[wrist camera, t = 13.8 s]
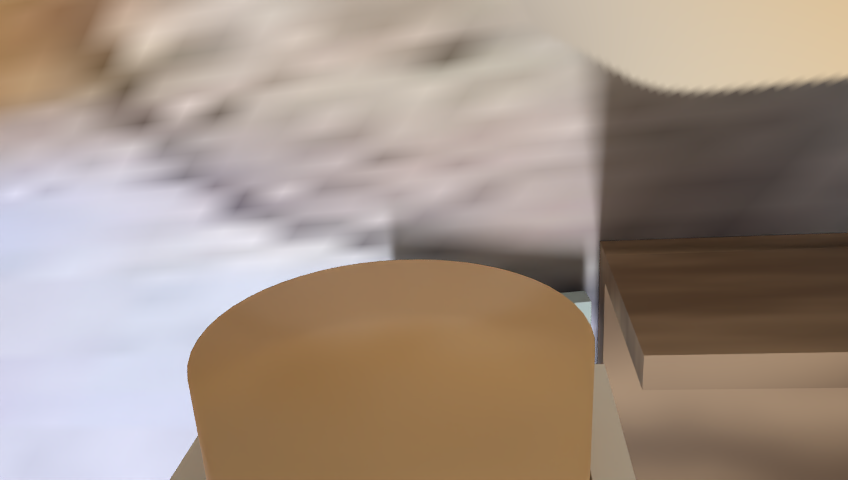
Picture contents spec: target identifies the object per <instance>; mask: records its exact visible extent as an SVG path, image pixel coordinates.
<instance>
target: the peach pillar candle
mask: <svg viewBox="0 0 848 480" xmlns="http://www.w3.org/2000/svg"><path fill="white" fill-rule="evenodd" d="M594 364H595V337H594V334H593V331H592V328H591V325H590V323H589V322H588V320H587V318H586V317H585V315H584V314H583V312H582V311H581V310H580V309H579V308H578V307H577V306H576V305H575V304H574V303H573V302H572V301H570V300H569V299H568V298H567V297H565V296H564V295H563V294H561V293H559V292H558V291H556V290H554V289H553V288H551V287H549V286H547V285H545V284H543V283H541V282H539V281H537V280H534V279H532V278H529V277H526V276H523V275H521V274H518V273H514V272H511V271H507V270H504V269H500V268H495V267H490V266H485V265H480V264H473V263H466V262H458V261H446V260H424V259H416V260H389V261H377V262H368V263H359V264H353V265H347V266H341V267H336V268H331V269H327V270H322V271H318V272H314V273H310V274H307V275H303V276H300V277H297V278H294V279H291V280H288V281H285V282H282V283H279V284H277V285H274V286H272V287H269V288H267V289H264V290H262V291H260V292H258V293H256V294H254V295H252V296H250V297H248V298H246V299H245V300H243V301H241V302H240V303H238V304H236V305H235V306H233V307H231V308H230V309H229V310H227V311H226V312H225V313H223V314H222V315H221V316H219V317H218V318H217V319H216V320H215V321H214V322H213V323H212V324H211V325H209V326H208V327H207V328H206V330H205V331H204V332H203V333H202V335H201V336H200V337H199V338H198V340H197V342H196V344H195V345H194V347H193V349H192V351H191V354H190V357H189V361H188V365H187V373H188V384H189V389H190V394H191V400H192V405H193V410H194V416H195V421H196V426H197V432H198V437H199V443H200V448H201V453H202V459H203V464H204V469H205V475H206V480H590V464H591V439H592V414H593V389H594Z"/></svg>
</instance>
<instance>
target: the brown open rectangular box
mask: <svg viewBox="0 0 848 480" xmlns="http://www.w3.org/2000/svg"><path fill="white" fill-rule="evenodd" d="M598 364H604V365H605V368H606V372H607V376H608V379H609V383H610V387H611V390H612V394H613V398H614V401H615V405H616V409H617V412H618V416H619V420H620V423H621V427H622V431H623V434H624V438H625V442H626V445H627V449H628V453H629V456H630V460H631V464H632V467H633V471H634V475H635V478H636V480H848V233H826V234H796V235H767V236H738V237H709V238H679V239H650V240H621V241H600V272H599V320H598Z"/></svg>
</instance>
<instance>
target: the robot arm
mask: <svg viewBox="0 0 848 480" xmlns="http://www.w3.org/2000/svg"><path fill="white" fill-rule="evenodd" d="M170 480H206V475H205V469H204V464H203V459H202V453H201V448H200V443H199V437H198V436H197V438H196V439H195V441H194V443H193V444H192V446H191V447H190V449H189V450H188V452H187V454H186V455H185V457H184V458H183V460H182V461H181V463H180V465H179V466H178V468H177V469H176V471H175V472H174V474H173V476H172V477H171V479H170ZM590 480H636V478H635V475H634V471H633V467H632V464H631V460H630V456H629V453H628V449H627V445H626V442H625V438H624V434H623V431H622V427H621V423H620V420H619V416H618V412H617V409H616V405H615V401H614V398H613V394H612V390H611V387H610V383H609V379H608V376H607V372H606V368H605V365H604V364H594V389H593V414H592V439H591V464H590Z"/></svg>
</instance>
